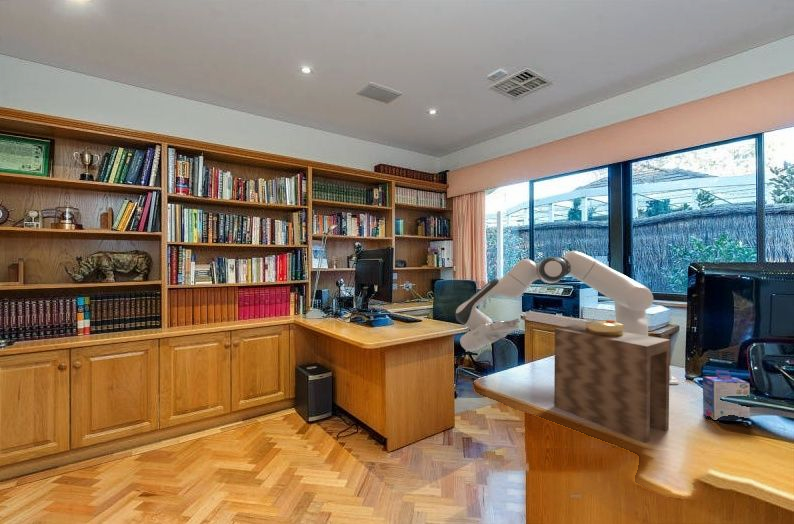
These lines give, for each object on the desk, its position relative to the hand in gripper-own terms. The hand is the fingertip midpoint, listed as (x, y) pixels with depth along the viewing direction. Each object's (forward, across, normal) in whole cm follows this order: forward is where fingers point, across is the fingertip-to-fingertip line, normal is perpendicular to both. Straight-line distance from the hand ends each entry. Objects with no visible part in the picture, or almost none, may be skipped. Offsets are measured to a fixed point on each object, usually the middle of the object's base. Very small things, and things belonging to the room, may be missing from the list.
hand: (510, 321), depth 140 cm
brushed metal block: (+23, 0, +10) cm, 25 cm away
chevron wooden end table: (+21, 0, +39) cm, 44 cm away
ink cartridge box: (+38, +30, +49) cm, 69 cm away
